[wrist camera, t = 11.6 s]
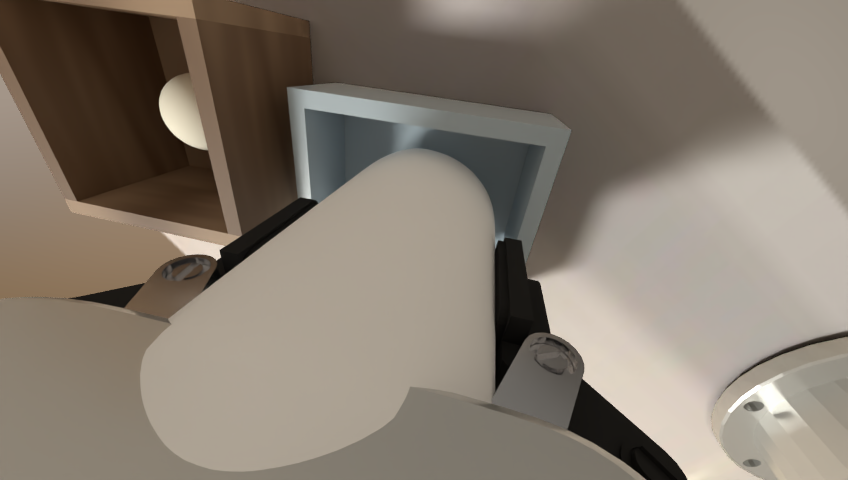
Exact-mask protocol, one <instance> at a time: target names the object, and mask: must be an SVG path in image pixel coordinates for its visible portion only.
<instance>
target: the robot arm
mask: <svg viewBox="0 0 848 480" xmlns="http://www.w3.org/2000/svg"><path fill="white" fill-rule="evenodd" d="M317 204H318V202H317V201H316V200H313V199H307V198H302V197H300V198H298V199H297V200H295V201H294V202H292V203H291V204H289V205H288V206H286V207H285V208H283V209H282V210H280V211H279V212H277V213H276V214H274V215H272V216H271V217H269V218H268V219H266V220H265V221H263V222H262V223H260V224H259V225H257V226H256V227H254V228H253V229H251V230H250V231H248V232H247V233H245V234H244V235H242V236H240V237H239V238H237V239H236V240H234V241H233V242H231V243H230V244H228V245H227V246H225V247H224V248H222V249H221V250H220V254H221V258H220V259H218V260H217V261H216V259H214V258H213V257H211V256H207V255H187V256H183V257H179V258H176V259H173V260H170V261H169V262H167V263H165V264H163V265H162V266H161V267H160V268H158V269H157V270H156V271H155V272H154V274H153V275H152V276H151V277H150V278H149V280H148V281H147V282H146V283H143V284H138V285H134V286H129V287H124V288H119V289H114V290H109V291H105V292H100V293H95V294H90V295H86V296H81V297H76V298H68V299H67V298H48V297H23V298H5V299H0V480H687V478H686V476H685V474H684V473H683V471H682V470H681V469H680V467H679V466H678V464H677V463H676V462H675V461H674V460H673V459H672V458H671V457H670V456H669V455H668V454H667V453H666V452H665V451H664V450H663V449H662V448H661V447H660V446H658V445H657V444H656V443H655V442H654V441H653V440H652V439H650V438H649V437H648V436H647V435H646V434H645V433H644V432H642V431H641V430H640V429H639V428H638V427H637V426H636V425H634V424H633V423H632V422H631V421H630V420H629V419H628V418H626V417H625V416H624V415H623V414H622V413H621V412H620V411H618V410H617V409H616V408H615V407H614V406H613V405H612V404H610V403H609V402H608V401H607V400H606V399H605V398H604V397H602V396H601V395H600V394H599V393H598V392H597V391H596V390H594V389H593V388H592V387H591V386H590V385H589V384H588V383H586V382H585V381H584V380H583V379H582V377H583V373H584V363H583V360H582V357H581V356H580V354H579V353H578V352H577V350H576V349H575V348H574V347H573V346H572V345H571V344H570V343H568V342H567V341H565V340H563V339H562V338H560V337H558V336H555V335H553V334H551V333H550V328H549V324H548V319H547V314H546V309H545V304H544V300H543V295H542V290H541V285H540V282H538V281H535V280H530V279H527V272H526V266H525V259H524V253H523V246H522V241H521V240H516V239H511V238H506V237H505V238H504V241H501V240H498V242H497V245H496V249H495V394H494V396H493V398H492V404H491V403H488V402H484V401H481V400H477V399H474V398H470V397H467V396H463V395H460V394H456V393H453V392H447V391H441V390H435V389H428V388H419V387H410V388H409V391H408V394H407V396H406V398H405V400H404V402H403V404H402V405H401V407H400V409H399V410H398V412H397V414H396V416H395V417H394V418H393V419H392V420H391V421H390V422H388V423H387V424H386V425H385V426H383V427H382V428H381V429H379V430H377V431H375V432H374V433H372V434H370V435H368V436H367V437H365V438H363V439H361V440H359V441H357V442H355V443H353V444H350V445H348V446H346V447H344V448H342V449H339V450H337V451H334V452H331V453H329V454H326V455H323V456H320V457H317V458H314V459H310V460H307V461H303V462H300V463H296V464H291V465H287V466H282V467H277V468H270V469H265V470H257V471H246V472H231V471H219V470H211V469H208V468H204V467H201V466H198V465H195V464H193V463H190V462H188V461H185V460H183V459H182V458H180V457H179V456H177V455H176V454H174V453H173V452H172V451H171V450H170V449H169V448H168V447H166V446H165V445H164V443H163V442H162V441H161V439H160V438H159V437H158V435H157V434H156V432H155V430H154V429H153V427H152V425H151V423H150V421H149V419H148V417H147V414H146V411H145V408H144V405H143V401H142V396H141V389H140V371H141V365H142V359H143V356H144V354H145V351H146V349H147V348H148V347H149V346H150V345H151V344H152V343H153V342H154V341H155V340H156V339H157V337H158V336H159V335H160V334H161V333H162V332H163V331H164V330H166V329H167V328H168V327H169V326H170V325H171V323H170V321H169V320H168V318H170V317H171V316H172V315H174V314H175V313H176V312H177V311H179V310H180V309H181V308H183V307H184V306H185V305H186V304H188V303H189V302H190V301H192V300H193V299H194V298H196V297H197V296H198V295H199V294H201V293H202V292H203V291H205V290H206V289H207V288H208V287H210V286H211V285H212V284H214V283H215V282H216V281H217V280H219V279H220V278H221V277H223V276H224V275H225V274H227V273H228V272H229V271H231V270H232V269H233V268H234V267H236V266H237V265H238V264H240V263H241V262H242V261H244V260H245V259H246V258H248V257H249V256H250V255H252V254H253V253H254V252H255V251H257V250H258V249H259V248H261V247H262V246H263V245H265V244H266V243H267V242H269V241H270V240H271V239H272V238H274V237H275V236H276V235H278V234H279V233H280V232H282V231H283V230H284V229H286V228H287V227H288V226H290V225H291V224H292V223H294V222H295V221H296V220H298V219H299V218H300V217H301V216H303V215H304V214H305V213H307V212H308V211H309V210H311V209H312V208H313V207H315V206H316V205H317ZM711 422H712V430H713V432H714V434H715V436H716V439H717V440H718V442H719V444H720V445H721V447H722V448H723V450H724V451H725V453H726V454H727V456H728V457H729V458H730V459H731V460H732V461H733V462H734V463H735V464H736V465H737V466H739V467H740V468H742V469H744V470H746V471H747V472H749V473H751V474H753V475H754V476H757V477H759V478H762V479H764V480H848V337H842V338H838V339H833V340H829V341H825V342H820V343H816V344H812V345H808V346H805V347H802V348H799V349H796V350H793V351H790V352H787V353H784V354H781V355H779V356H777V357H775V358H773V359H771V360H768V361H766V362H764V363H762V364H760V365H758V366H756V367H755V368H753V369H751V370H750V371H748V372H747V373H745V374H744V375H742V376H740V377H739V378H738V379H737V380H736V381H734V382H733V383H732V384H731V385H730V386H729V387H728V388H727V389H726V390H725V391H724V392H723V394H722V395H721V397H720V398H719V399H718V401H717V402H716V404H715V406H714V409H713V413H712V416H711Z"/></svg>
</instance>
